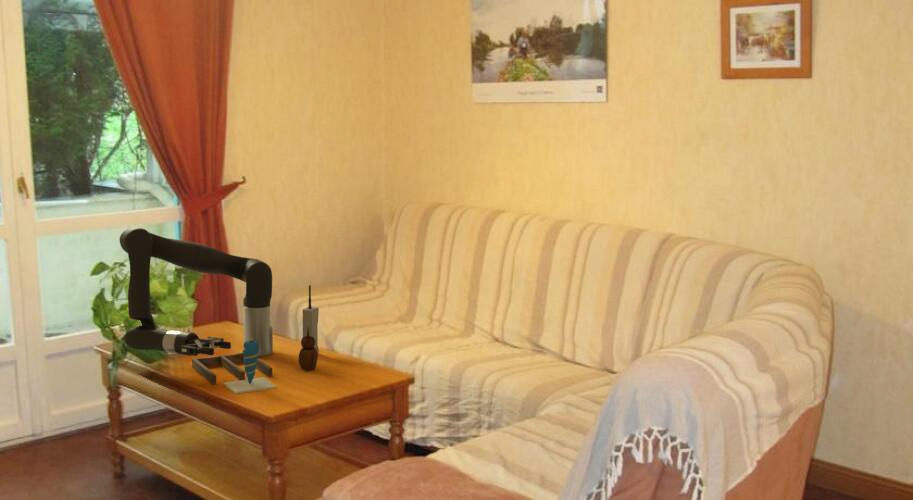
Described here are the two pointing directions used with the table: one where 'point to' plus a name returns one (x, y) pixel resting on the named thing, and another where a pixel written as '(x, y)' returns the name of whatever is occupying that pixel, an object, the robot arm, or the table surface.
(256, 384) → the pad
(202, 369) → the lane rack
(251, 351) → the ornament
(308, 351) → the wooden figurine
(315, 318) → the vintage mobile phone
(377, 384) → the table surface
